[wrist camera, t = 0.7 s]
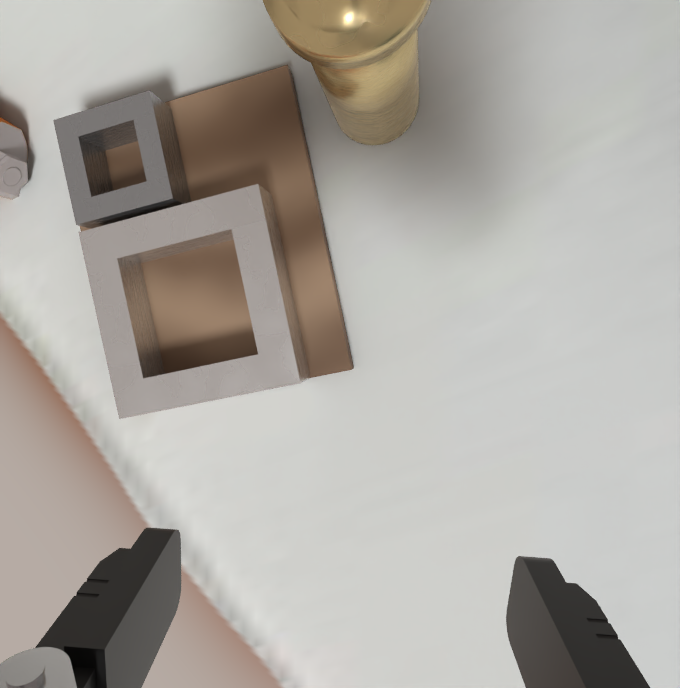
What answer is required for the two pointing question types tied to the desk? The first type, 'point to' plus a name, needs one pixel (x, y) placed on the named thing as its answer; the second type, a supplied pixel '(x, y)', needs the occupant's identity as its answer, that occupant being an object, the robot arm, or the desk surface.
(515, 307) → the desk surface
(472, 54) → the desk surface
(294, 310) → the wide steel port
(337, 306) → the walnut board
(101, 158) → the grey square ring
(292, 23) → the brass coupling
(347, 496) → the desk surface
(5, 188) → the toy gun
